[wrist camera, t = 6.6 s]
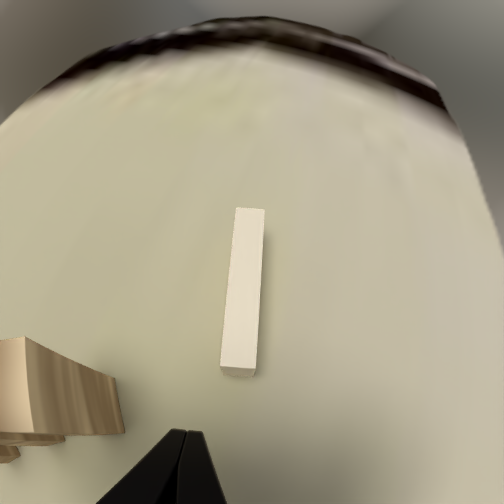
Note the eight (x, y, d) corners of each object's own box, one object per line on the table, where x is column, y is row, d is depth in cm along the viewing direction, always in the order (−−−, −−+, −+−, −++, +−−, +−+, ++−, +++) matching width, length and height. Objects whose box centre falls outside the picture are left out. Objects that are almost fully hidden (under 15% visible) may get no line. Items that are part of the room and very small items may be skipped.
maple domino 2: (49, 391, 19) (-54, 355, 9) (65, 440, 17) (-40, 434, 8) (30, 397, 18) (-72, 364, 9) (46, 445, 17) (-60, 438, 7)
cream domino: (253, 377, 21) (261, 239, 26) (255, 368, 17) (264, 209, 23) (223, 375, 21) (236, 237, 26) (220, 365, 17) (236, 207, 23)
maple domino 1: (114, 378, 20) (24, 336, 10) (125, 432, 18) (33, 432, 8) (90, 381, 20) (-7, 341, 10) (99, 435, 18) (0, 431, 8)
